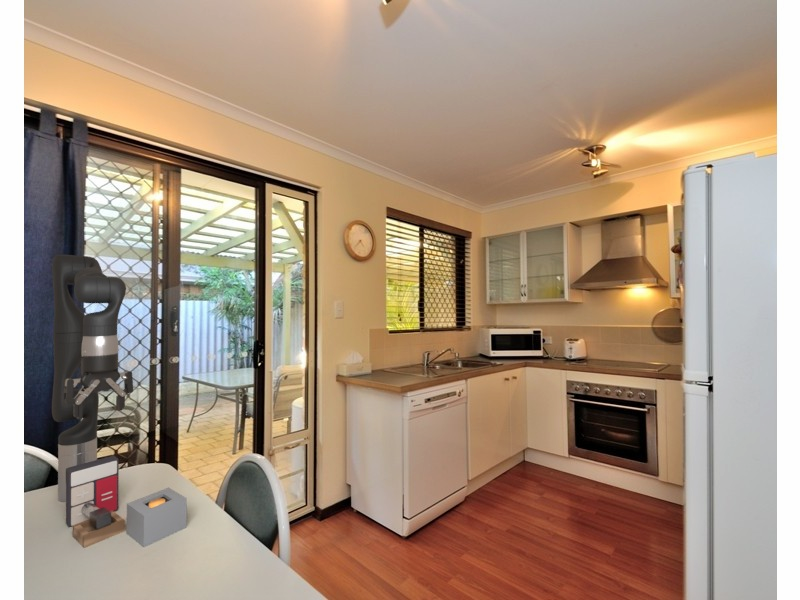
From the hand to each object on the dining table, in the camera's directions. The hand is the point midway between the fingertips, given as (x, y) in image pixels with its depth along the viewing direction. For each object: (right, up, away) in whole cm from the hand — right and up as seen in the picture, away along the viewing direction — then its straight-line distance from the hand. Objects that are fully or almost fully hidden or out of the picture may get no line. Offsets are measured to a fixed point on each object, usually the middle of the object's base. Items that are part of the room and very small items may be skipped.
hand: (99, 414), depth 97 cm
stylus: (-6, -26, +3) cm, 27 cm away
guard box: (+15, -31, 0) cm, 34 cm away
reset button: (+15, -28, 0) cm, 32 cm away
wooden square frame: (+1, -31, -2) cm, 31 cm away
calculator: (-7, -31, +6) cm, 32 cm away
